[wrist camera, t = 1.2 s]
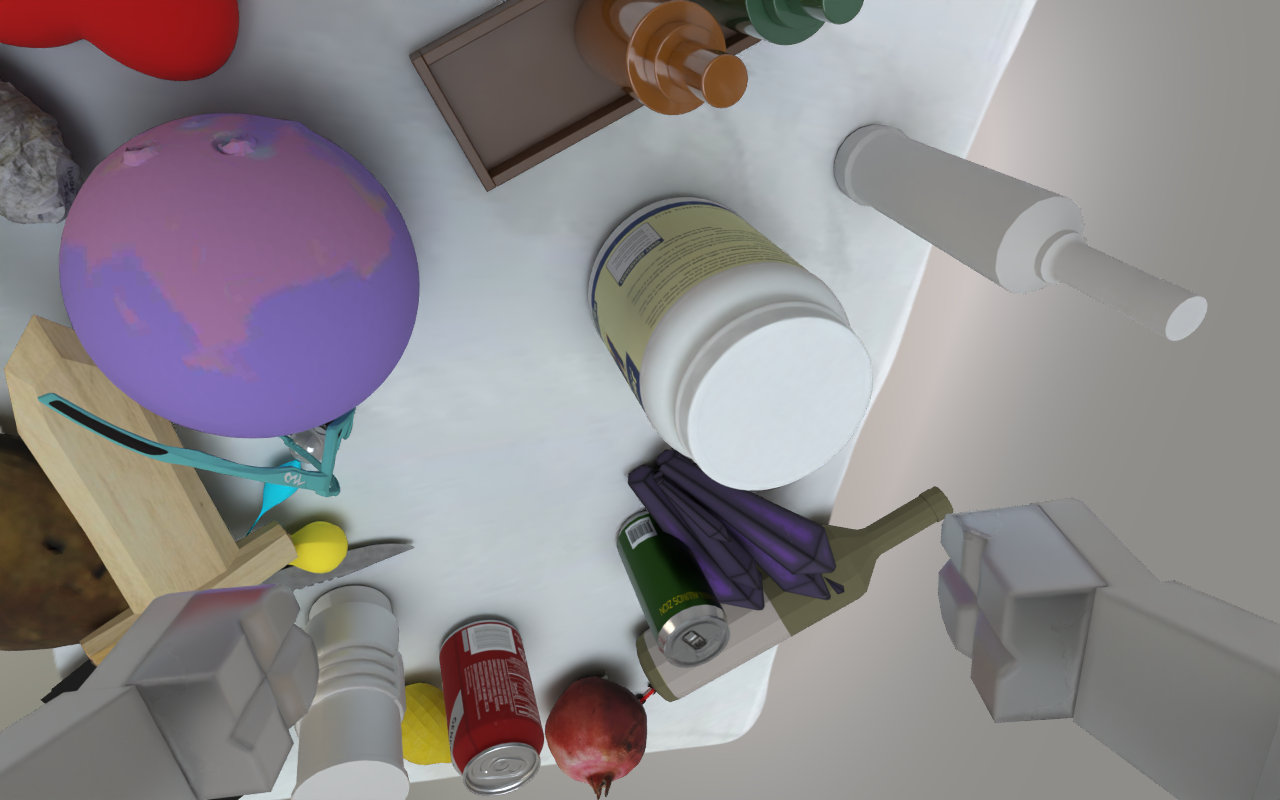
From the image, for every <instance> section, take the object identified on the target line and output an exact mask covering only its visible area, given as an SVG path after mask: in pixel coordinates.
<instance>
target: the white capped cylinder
mask: <svg viewBox="0 0 1280 800" xmlns="http://www.w3.org/2000/svg"><path fill="white" fill-rule="evenodd" d="M303 631H305V632H306V633H307V634H309V635H310V636H311V637H312V640H313V642H314V645H315V648H316V650H317V656H318V663H319V677H318V684H317V692H316V695H315V697H314V700H313V702H312V704H311V707H310V709H309V711H308V713H307V714H306V715H305V716H304V717H302V718H301V719H300V720H299V721H298V722H296V723H295V730H296V733H297V736H298V737H299V750H298V766H297V783H296V786H295V788H294V790H293V791H292V793H291V800H405V798H406V797H407V795H408V790H409V778H408V774H407V771H406V770H405V769H404V763H403V746H402V730H401V722H402V721H403V719H404V714H405V711H406V695H405V681H404V667H403V660H402V656H401V654H400V652H399V651H398V643H399V627H398V622H397V620H396V619H395V617H394V616H393V614H392V608H391V603H390V601H389V600H388V598H387V597H386V596H385V595H384V594H382V593H381V592H380V591H378V590H375V589H373V588H370V587H365V586H346V587H341V588H337V589H335V590H332V591H330V592H328V593H326V594H325V595H323V596H321V597H320V598H319V599H318V600H317V601H316V602H315V603H314V604H313V606H312V608H311V610H310V612H309V622H308V623H307V624H306V626H305V628H304V630H303Z"/></svg>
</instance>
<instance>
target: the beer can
mask: <svg viewBox="0 0 1280 800" xmlns="http://www.w3.org/2000/svg"><path fill="white" fill-rule="evenodd" d="M617 548H618V552H619V555H620V557H621V559H622V562H623V564H624V567H625V569H626V572H627V574H628V576H629V579H630V581H631V584H632V586H633V588H634V591H635V593H636V596H637V598H638V600H639V603H640V605H641V608H642V610H643V612H644V615H645V617H646V620H647V622H648V624H649V627H650V629H651V632H652V634H653V637H654V639H655V641H656V644H657V646H658V649H659V650H660V651H661V652H662V654H663V655H664V656H665V657H666V659H667V660H668V661H669V663H670V664H672V665H674V666H676V667H680V668H691V667H697V666H700V665H702V664H705V663H707V662H709V661H711V660H712V659H714V658H715V657H717V656H718V655H719V654H720V653H721V652H722V651H723V650H724V648H725V647H726V645H727V644H728V642H729V638H730V629H729V626H728V621H727V615H726V614H725V612H724V610H723V608H722V606H721V604H720V602H719V600H718V598H717V597H716V595H715V593H714V591H713V589H712V587H711V585H710V583H709V582H708V580H707V578H706V576H705V574H704V572H703V570H702V568H701V566H700V565H699V563H698V561H697V559H696V557H695V555H694V554H693V552H692V551H691V549H690V548H689V547H688V546H687V545H686V544H685V543H683V542H682V541H681V540H680V539H678V538H676V537H674V536H673V535H671V534H669V533H666V532H663V531H662V529H661V528H660V527H659V525H658V524H657V523H656V521H655V520H654V519H653V517H652V516H651V514H650V513H649V512H648V510H647V511H643V512H640V513H637V514H635V515H634V516H632V517H631V518H629V519H628V520H627V521H626V522H625V523H624V524H623V526H622V527H621V529H620V531H619V536H618V542H617Z"/></svg>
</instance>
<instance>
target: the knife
mask: <svg viewBox="0 0 1280 800" xmlns="http://www.w3.org/2000/svg"><path fill="white" fill-rule="evenodd" d="M413 548H414V547H413V546H410V545H406V544H380V545H372V546H366V547H362V548H357V549H353V550H349V551H347V553H346V557H345V558H344V559H343V560H342V562H341V563H340V564H339V565H338V567H336V568H335V569H333V570H332V571H330V572H326V573H313V572H309V571H306V570H303V569H301V568H298V567H296V566H293V567H290V568H286V569H283V570H279V571H277V572H276V573H275V574H273V575H272V576H270V577H269V578H267V579H266V580H265V581H263V582H262V583H260V584H259V585H267V584H279V583H281V584H283V585H285V586H287V587H290V588H291V589H292V591H294V590H295V589H303V588H304V587H305V586H313V585H314V584H315V583H318V584H319V583H323V582H324V581H325V580H328V581H329V580H333V578H335V577H338V578H339V577H343V576H345V575H348V574H350V573H353V572H355V571H358V570H360V569H363V568H365V567H368V566H370V565H372V564H374V563H377V562H379V561H382V560H385V559H387V558H390V557H392V556H395V555H397V554H400V553H402V552H405V551H407V550H410V549H413Z"/></svg>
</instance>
